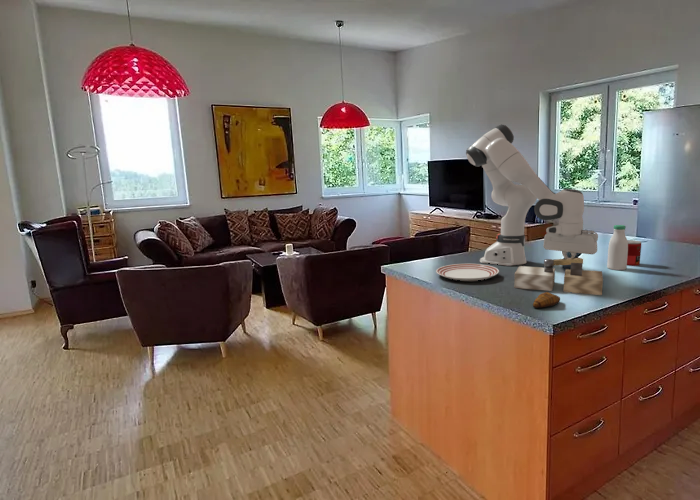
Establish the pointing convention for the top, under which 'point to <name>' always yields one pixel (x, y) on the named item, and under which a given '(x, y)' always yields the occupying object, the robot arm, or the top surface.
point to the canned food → (633, 253)
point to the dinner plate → (467, 272)
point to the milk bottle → (618, 249)
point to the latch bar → (561, 261)
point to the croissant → (546, 300)
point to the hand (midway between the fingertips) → (568, 262)
